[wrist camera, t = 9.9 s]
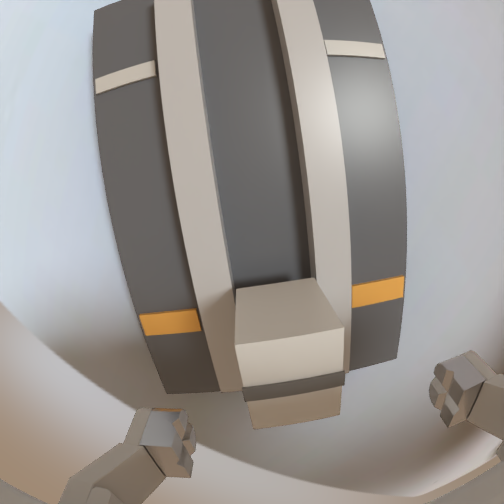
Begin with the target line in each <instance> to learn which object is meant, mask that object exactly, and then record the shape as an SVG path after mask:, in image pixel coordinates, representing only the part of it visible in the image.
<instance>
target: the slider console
mask: <svg viewBox="0 0 504 504" xmlns="http://www.w3.org/2000/svg"><path fill="white" fill-rule="evenodd" d="M93 81H94V100H95V113H96V124H97V134H98V143H99V151H100V158H101V165H102V172H103V178H104V184H105V190H106V195H107V200H108V206H109V211H110V216H111V220H112V225H113V229H114V234H115V238H116V242H117V246H118V251H119V255H120V258H121V262H122V266H123V270H124V273H125V277H126V281H127V284H128V287H129V291H130V294H131V297H132V301H133V304H134V307H135V310H136V313H137V316H138V319H139V322H140V325H141V328H142V331H143V334H144V337H145V340H146V342H147V345H148V348H149V351H150V353H151V356H152V359H153V361H154V364H155V366H156V369H157V371H158V374H159V376H160V379H161V381H162V384H163V386H164V388H165V391H166V393H167V394H179V393H200V392H215V391H221V393H223V392H234V391H242V387H243V382H242V378H241V373H240V369H239V364H238V359H237V355H236V350H235V345H234V344H235V311H236V289H239V288H246V287H253V286H260V285H267V284H274V283H280V282H287V281H294V280H300V279H307V278H313V277H314V278H315V280H316V282H317V283H318V285H319V287H320V288H321V290H322V291H323V293H324V295H325V296H326V298H327V300H328V301H329V303H330V305H331V306H332V308H333V310H334V311H335V313H336V315H337V316H338V318H339V320H340V321H341V323H342V325H343V326H344V353H343V370H344V371H345V373H349V371H351V370H355V369H359V368H363V367H367V366H371V365H375V364H378V363H382V362H386V361H389V360H393V359H396V358H397V352H398V345H399V338H400V331H401V322H402V313H403V303H404V292H405V277H406V254H407V208H406V185H405V170H404V159H403V149H402V140H401V132H400V125H399V118H398V111H397V105H396V99H395V94H394V89H393V84H392V79H391V74H390V70H389V65H388V61H387V57H386V53H385V49H384V45H383V41H382V38H381V34H380V31H379V27H378V24H377V21H376V18H375V14H374V11H373V8H372V5H371V3H370V0H121V1H118V2H115V3H113V4H110V5H107V6H105V7H102V8H100V9H97V10H95V11H94V25H93Z"/></svg>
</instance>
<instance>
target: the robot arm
mask: <svg viewBox="0 0 504 504" xmlns="http://www.w3.org/2000/svg"><path fill="white" fill-rule="evenodd" d="M434 375H435V376H436V377H435V378H434V379H433V380H432V382H431V383H430V387H429V397H430V400H431V403H432V404H433V406H434V407H435V408H438V409H440V410H441V411H440V417H441V418H442V420H443V421H444V423H445V424H446V426H447V428H449V427H452V426H454V425H456V424H458V423H461V422H463V421H465V420H467V421H468V422H470V423H472V424H474V425H476V426H477V427H479V428H481V429H483V430H485V431H487V432H488V433H490V434H492V435H494V436H496V437H498V438H500V439H502V440H504V374H501V373H500V374H498V375H497V374H496V373H495V372H494V371H493V370H492V369H491V368H490V367H489V366H488V365H487V364H486V363H485V362H484V361H483V360H482V359H481V358H480V357H479V356H478V355H477V354H476V353H475V352H474V351H468V352H466V353H463V354H461V355H459V356H456V357H454V358H451V359H449V360H446V361H443V362H441V363H438V364H437V365H436V367H435V369H434ZM187 421H188V415H187V413H186V410H184V409H162V408H139V409H138V410H137V411H136V413H135V415H134V418H133V421H132V423H131V426H130V428H129V430H128V433H127V435H126V439H125V441H124V443H123V444H122V443H119V444H118V445H116V446H115V447H113V448H112V449H111V450H109V451H108V452H107V453H105V454H104V455H102V456H101V457H99V458H98V459H97V460H95V461H94V462H92V463H91V464H89V465H88V466H87V467H85V468H84V469H82V470H81V471H79V472H78V473H76V474H75V475H73V476H72V477H70V478H69V481H68V483H67V485H66V487H65V489H64V492H63V494H62V496H61V498H60V501H59V503H58V504H142V503H143V501H144V500H145V499H146V498H147V497H148V496H149V495H150V494H151V493H152V492H153V491H154V490H155V489H156V488H157V487H158V486H159V485H160V484H161V483H162V482H163V480H164V479H165V478H166V477H184V478H191V473H192V467H193V460H192V458H191V454H193V453H194V452H195V448H196V435H195V431H194V428H193V426H192V425H191V424H190V423H188V422H187ZM496 454H497V455H498V457H499V458H500V460H501V462H500V463H498V464H497V465H495V466H494V467H492V468H491V469H489V470H487V471H486V472H484V473H483V474H481V475H479V476H478V477H476V478H474V479H473V480H471V481H469V482H468V483H466V484H464V485H462V486H460V487H458V488H457V489H455V490H453V491H451V492H449V493H447V494H445V495H443V496H441V497H439V498H436V499H434V500H432V501H430V502H428V503H425V504H504V441H503V442H502V444H501V445H500V447H499V448H498V450H497V453H496ZM0 504H47V503H45V502H43V501H41V500H39V499H37V498H35V497H33V496H30V495H28V494H27V493H25V492H23V491H21V490H19V489H17V488H15V487H13V486H12V485H10V484H8V483H6V482H5V481H3V480H1V479H0Z"/></svg>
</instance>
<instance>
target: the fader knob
mask: <svg viewBox="0 0 504 504" xmlns="http://www.w3.org/2000/svg"><path fill="white" fill-rule="evenodd" d="M234 345H235V350H236V355H237V359H238V364H239V369H240V373H241V378H242V382H243V387H242V391H243V395H244V400H245V402H247V404H248V408H249V413H250V417H251V421H252V425H253V429H261V428H269V427H276V426H283V425H290V424H296V423H302V422H307V421H313V420H318V419H323V418H327V417H332V416H336V415H340V405H341V392H342V386H343V385H344V382H345V371H344V370H343V353H344V326H343V325H342V323H341V321H340V320H339V318H338V316H337V315H336V313H335V311H334V310H333V308H332V306H331V305H330V303H329V301H328V300H327V298H326V296H325V295H324V293H323V291H322V290H321V288H320V287H319V285H318V283H317V282H316V280H315V278H314V277H313V278H307V279H300V280H294V281H287V282H280V283H274V284H267V285H260V286H253V287H246V288H239V289H236V311H235V344H234Z"/></svg>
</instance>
